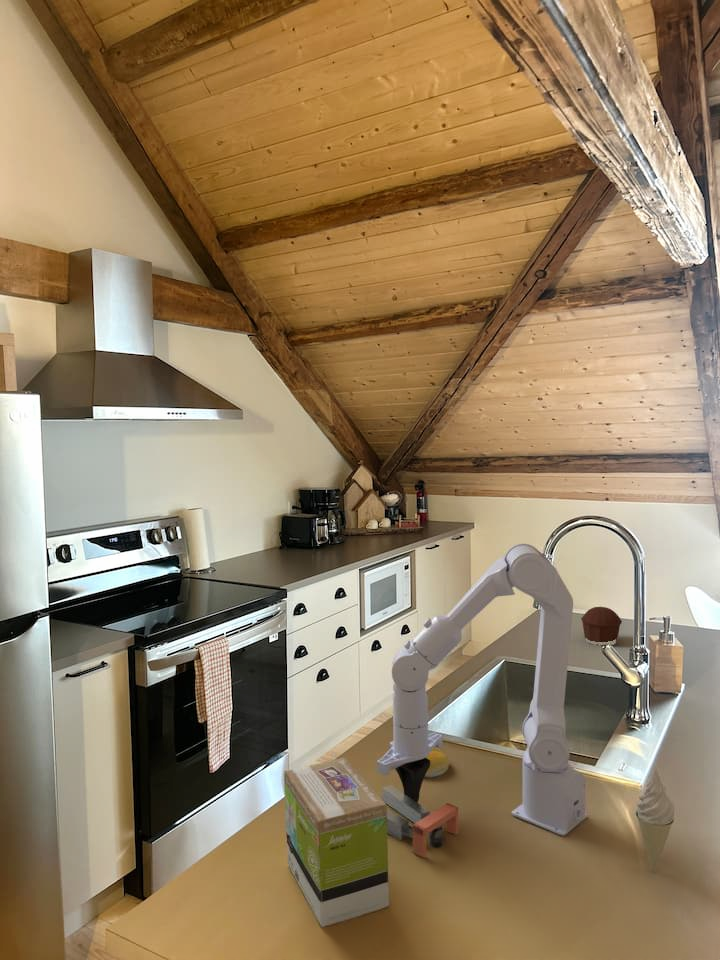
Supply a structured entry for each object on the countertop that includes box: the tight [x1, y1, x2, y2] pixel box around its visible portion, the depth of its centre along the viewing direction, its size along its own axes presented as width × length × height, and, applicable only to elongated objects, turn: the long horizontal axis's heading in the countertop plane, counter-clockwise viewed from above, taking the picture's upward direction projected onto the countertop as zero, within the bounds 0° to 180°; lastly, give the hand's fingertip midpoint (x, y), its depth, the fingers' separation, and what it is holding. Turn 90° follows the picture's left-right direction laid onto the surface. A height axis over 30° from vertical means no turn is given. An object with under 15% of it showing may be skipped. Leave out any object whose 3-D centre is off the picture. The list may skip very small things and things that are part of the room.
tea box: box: [283, 757, 390, 928], centre depth 100 cm, size 15×10×15 cm, turn 23°
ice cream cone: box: [635, 768, 675, 873], centre depth 102 cm, size 5×5×15 cm
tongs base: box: [387, 810, 444, 849], centre depth 115 cm, size 16×4×2 cm, turn 46°
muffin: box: [580, 606, 623, 642], centre depth 211 cm, size 12×11×10 cm
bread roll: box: [424, 747, 450, 778], centre depth 135 cm, size 8×9×4 cm
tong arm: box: [381, 784, 431, 824], centre depth 118 cm, size 14×2×2 cm, turn 34°
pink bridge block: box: [412, 802, 459, 858], centre depth 110 cm, size 2×9×4 cm, turn 136°
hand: (411, 801), depth 120 cm, fingers closed, pressing on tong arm
